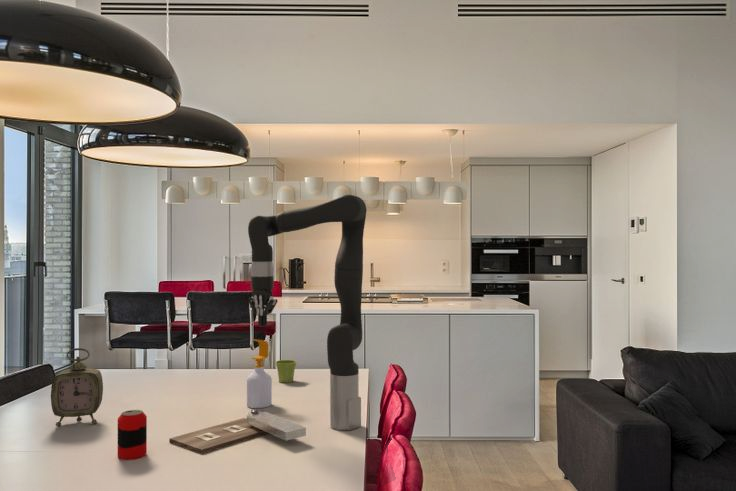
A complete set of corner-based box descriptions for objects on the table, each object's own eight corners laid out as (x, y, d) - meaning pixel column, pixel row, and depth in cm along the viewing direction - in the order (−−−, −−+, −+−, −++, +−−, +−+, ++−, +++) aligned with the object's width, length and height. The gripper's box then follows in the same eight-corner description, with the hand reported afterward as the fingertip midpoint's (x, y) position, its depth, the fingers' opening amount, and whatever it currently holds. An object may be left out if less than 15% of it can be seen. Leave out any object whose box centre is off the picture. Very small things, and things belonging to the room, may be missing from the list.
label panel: (276, 430, 190) (276, 424, 190) (201, 453, 168) (201, 447, 168) (243, 421, 200) (243, 415, 200) (169, 442, 178) (169, 436, 178)
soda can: (137, 449, 172) (137, 407, 172) (151, 455, 167) (151, 412, 167) (112, 456, 166) (112, 413, 166) (126, 462, 161) (126, 418, 161)
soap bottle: (241, 406, 218) (241, 339, 219) (257, 401, 226) (257, 336, 227) (261, 409, 214) (261, 341, 214) (276, 404, 222) (276, 338, 223)
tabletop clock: (50, 429, 191) (50, 351, 191) (57, 421, 200) (57, 346, 200) (99, 425, 195) (99, 349, 195) (103, 418, 204) (104, 345, 204)
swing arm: (261, 417, 197) (261, 407, 197) (305, 435, 177) (305, 424, 177) (242, 421, 192) (242, 411, 192) (285, 440, 173) (285, 429, 173)
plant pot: (272, 380, 263) (272, 360, 263) (293, 378, 267) (293, 359, 267) (278, 384, 254) (278, 364, 254) (299, 382, 258) (299, 362, 258)
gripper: (284, 275, 200) (284, 326, 200) (257, 274, 208) (258, 324, 208) (267, 275, 194) (267, 329, 194) (240, 275, 202) (241, 326, 202)
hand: (262, 326), depth 201 cm, fingers closed
